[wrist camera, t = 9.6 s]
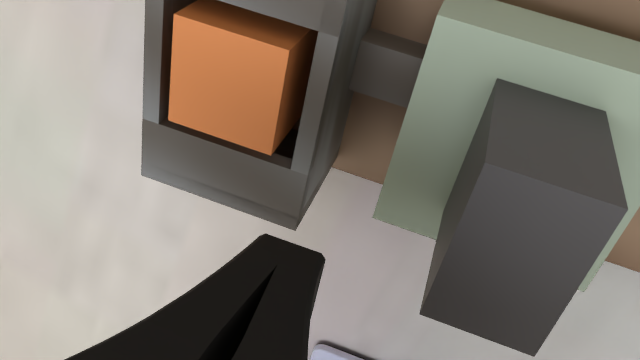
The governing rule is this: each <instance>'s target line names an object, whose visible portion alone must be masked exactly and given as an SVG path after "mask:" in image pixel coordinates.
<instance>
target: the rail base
mask: <svg viewBox="0 0 640 360" xmlns="http://www.w3.org/2000/svg"><path fill="white" fill-rule="evenodd" d="M195 1H197V0H145V34H144V78H143V121H142V165H141V175H142V176H145V177H148V178H151V179H153V180H156V181H159V182H162V183H164V184H167V185H170V186H173V187H175V188H178V189H181V190H184V191H187V192H189V193H192V194H195V195H198V196H200V197H203V198H206V199H209V200H212V201H214V202H217V203H220V204H223V205H225V206H228V207H231V208H234V209H236V210H239V211H242V212H245V213H248V214H250V215H253V216H256V217H259V218H261V219H264V220H267V221H270V222H272V223H275V224H278V225H281V226H284V227H286V228H289V229H292V230H295V231H296V229H297V227H298V225H299V223H300V222H301V220H302V218H303V216H304V215H305V213H306V211H307V209H308V208H309V206H310V204H311V202H312V201H313V199H314V197H315V195H316V194H317V192H318V190H319V188H320V186H321V185H322V183H323V181H324V179H325V178H326V176H327V174H328V172H329V171H330V169H331V167H333V168H336V169H339V170H342V171H345V172H348V173H350V174H353V175H356V176H359V177H362V178H365V179H368V180H371V181H374V182H377V183H380V184H383V183H384V180H385V177H386V174H387V171H388V168H389V164H390V161H391V158H392V155H393V152H394V149H395V146H396V142H397V139H398V136H399V133H400V130H401V127H402V124H403V121H404V117H405V114H406V111H407V108H408V105H409V102H410V99H411V95H412V92H413V89H414V86H415V83H416V80H417V77H418V73H419V70H420V67H421V64H422V61H423V58H424V55H425V52H426V48H427V45H428V42H429V39H430V36H431V33H432V30H433V26H434V23H435V20H436V17H437V14H438V12H439V10H440V8H441V6H442V4H443V2H444V0H219V1H222V2H225V3H228V4H232V5H235V6H238V7H241V8H245V9H248V10H251V11H254V12H258V13H261V14H264V15H267V16H270V17H274V18H277V19H280V20H283V21H287V22H290V23H293V24H296V25H300V26H303V27H306V28H309V29H313V30H316V31H319V32H318V36H317V41H316V46H315V51H314V56H313V61H312V66H311V71H310V76H309V81H308V86H307V91H306V96H305V101H304V106H303V111H302V115H301V117H300V118H299V119H298V121H297V122H296V123H295V125H294V126H293V127H292V129H291V130H290V131H289V133H288V134H287V135H286V137H285V138H284V139H283V140H282V142H281V143H280V144H279V146H278V147H277V148H276V150H275V151H274V152H273V154H272V155H271V156H270V155H267V154H265V153H262V152H259V151H256V150H253V149H250V148H247V147H244V146H241V145H238V144H236V143H233V142H230V141H227V140H224V139H221V138H218V137H215V136H212V135H209V134H206V133H204V132H201V131H198V130H195V129H192V128H189V127H186V126H183V125H180V124H177V123H174V122H172V121H169V120H168V114H169V95H170V76H171V56H172V37H173V18H174V13H176V12H178V11H180V10H181V9H183V8H185V7H187V6H188V5H190V4H192V3H194V2H195ZM496 1H500V2H503V3H507V4H510V5H514V6H517V7H521V8H524V9H528V10H531V11H535V12H538V13H541V14H545V15H548V16H552V17H555V18H559V19H562V20H566V21H569V22H573V23H576V24H580V25H583V26H586V27H590V28H593V29H597V30H600V31H604V32H607V33H611V34H614V35H618V36H621V37H625V38H628V39H631V40H635V41H638V42H640V0H496ZM605 261H608V262H611V263H614V264H617V265H620V266H622V267H625V268H628V269H631V270H634V271H637V272H640V207H639V208H638V210H637V211H636V213H635V214H634V216H633V218H632V219H631V221H630V222H629V224H628V225H627V227H626V228H625V230H624V231H623V233H622V234H621V236H620V238H619V239H618V241H617V242H616V244H615V245H614V247H613V248H612V250H611V251H610V253H609V254H608V256H607V258H606V259H605Z"/></svg>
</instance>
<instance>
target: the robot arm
mask: <svg viewBox="0 0 640 360" xmlns="http://www.w3.org/2000/svg"><path fill="white" fill-rule="evenodd" d="M324 264H325V258H324V256H323V255H322V253H319V252H316V251H313V250H310V249H308V248H305V247H302V246H299V245H296V244H293V243H291V242H288V241H285V240H282V239H279V238H276V237H274V236H271V235H268V234H263V235H261V236H259V237H258V238H257V239H256V240H255V241H253V242H252V243H251V244H250V245H249V246H248V247H246V248H245V249H244V250H243V251H242V252H240V253H239V254H238V255H237V256H235V257H234V258H233V259H232V260H230V261H229V262H228V263H226V264H225V265H224V266H223V267H221V268H220V269H219V270H217V271H216V272H215V273H213V274H212V275H210V276H209V277H208V278H206V279H205V280H203V281H202V282H201V283H199V284H198V285H196V286H195V287H194V288H192V289H191V290H189V291H188V292H186V293H185V294H183V295H182V296H180V297H179V298H177V299H176V300H174V301H172V302H171V303H169V304H168V305H166V306H165V307H163V308H161V309H160V310H158V311H157V312H155V313H154V314H152V315H150V316H149V317H147V318H145V319H143V320H142V321H140V322H138V323H137V324H135V325H133V326H131V327H129V328H128V329H126V330H124V331H122V332H120V333H118V334H116V335H114V336H113V337H111V338H109V339H107V340H105V341H103V342H101V343H99V344H97V345H95V346H92V347H90V348H88V349H86V350H84V351H82V352H80V353H78V354H76V355H74V356H71V357H69V358H67V359H65V360H307V356H308V339H309V327H310V319H311V315H312V311H313V307H314V303H315V299H316V295H317V291H318V287H319V283H320V279H321V275H322V272H323V268H324ZM310 360H364V359H361V358H358V357H356V356H353V355H351V354H348V353H346V352H343V351H340V350H338V349H335V348H333V347H330V346H327V345H324V344H318V345H316V346H315V347H314V349H313V352H312V355H311V358H310Z"/></svg>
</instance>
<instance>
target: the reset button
mask: <svg viewBox="0 0 640 360" xmlns="http://www.w3.org/2000/svg"><path fill="white" fill-rule="evenodd" d="M318 32H319V31H316V30H313V29H309V28H306V27H303V26H300V25H296V24H293V23H290V22H287V21H283V20H280V19H277V18H274V17H270V16H267V15H264V14H261V13H258V12H254V11H251V10H248V9H245V8H241V7H238V6H235V5H232V4H228V3H225V2H222V1H219V0H197V1H195V2H194V3H192V4H190V5H188V6H187V7H185V8H183V9H181V10H180V11H178V12H176V13H174V18H173V37H172V56H171V76H170V95H169V114H168V120H169V121H172V122H174V123H177V124H180V125H183V126H186V127H189V128H192V129H195V130H198V131H201V132H204V133H206V134H209V135H212V136H215V137H218V138H221V139H224V140H227V141H230V142H233V143H236V144H238V145H241V146H244V147H247V148H250V149H253V150H256V151H259V152H262V153H265V154H267V155H270V156H271V155H272V154H273V152H274V151H275V150H276V148H277V147H278V146H279V144H280V143H281V142H282V140H283V139H284V138H285V137H286V135H287V134H288V133H289V131H290V130H291V129H292V127H293V126H294V125H295V123H296V122H297V121H298V119H299V118H300V117H301V115H302V111H303V106H304V101H305V96H306V91H307V86H308V81H309V76H310V71H311V66H312V61H313V56H314V51H315V46H316V41H317V36H318Z"/></svg>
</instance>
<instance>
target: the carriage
mask: <svg viewBox="0 0 640 360" xmlns="http://www.w3.org/2000/svg"><path fill="white" fill-rule="evenodd" d="M639 207H640V42H638V41H635V40H631V39H628V38H625V37H621V36H618V35H614V34H611V33H607V32H604V31H600V30H597V29H593V28H590V27H586V26H583V25H580V24H576V23H573V22H569V21H566V20H562V19H559V18H555V17H552V16H548V15H545V14H541V13H538V12H535V11H531V10H528V9H524V8H521V7H517V6H514V5H510V4H507V3H503V2H500V1H496V0H444V2H443V4H442V6H441V8H440V10H439V12H438V14H437V17H436V20H435V23H434V26H433V30H432V33H431V36H430V39H429V42H428V45H427V48H426V52H425V55H424V58H423V61H422V64H421V67H420V70H419V73H418V77H417V80H416V83H415V86H414V89H413V92H412V95H411V99H410V102H409V105H408V108H407V111H406V114H405V117H404V121H403V124H402V127H401V130H400V133H399V136H398V139H397V142H396V146H395V149H394V152H393V155H392V158H391V161H390V164H389V168H388V171H387V174H386V177H385V180H384V183H383V186H382V190H381V193H380V196H379V199H378V202H377V205H376V208H375V212H374V215H373V218H375V219H378V220H381V221H383V222H386V223H389V224H392V225H395V226H398V227H400V228H403V229H406V230H409V231H412V232H415V233H418V234H420V235H423V236H426V237H429V238H432V239H435V240H436V245H435V249H434V253H433V258H432V262H431V266H430V271H429V275H428V279H427V284H426V288H425V292H424V297H423V301H422V305H421V310H420V315H423V316H426V317H428V318H431V319H434V320H437V321H439V322H442V323H445V324H447V325H450V326H453V327H455V328H458V329H461V330H464V331H466V332H469V333H472V334H474V335H477V336H480V337H482V338H485V339H488V340H491V341H493V342H496V343H499V344H501V345H504V346H507V347H510V348H512V349H515V350H518V351H520V352H523V353H526V354H528V355H531V356H534V357H535V355H536V353H537V352H538V350H539V349H540V347H541V346H542V344H543V342H544V341H545V339H546V338H547V336H548V335H549V333H550V331H551V330H552V328H553V327H554V325H555V324H556V322H557V320H558V319H559V317H560V316H561V314H562V313H563V311H564V310H565V308H566V306H567V305H568V303H569V302H570V300H571V299H572V297H573V295H574V294H575V292H576V291H577V290H580V291H583V292H584V291H585V290H586V288H587V287H588V285H589V284H590V282H591V281H592V279H593V278H594V276H595V274H596V273H597V271H598V270H599V268H600V267H601V265H602V264H603V262H604V261H605V259H606V258H607V256H608V254H609V253H610V251H611V250H612V248H613V247H614V245H615V244H616V242H617V241H618V239H619V238H620V236H621V234H622V233H623V231H624V230H625V228H626V227H627V225H628V224H629V222H630V221H631V219H632V218H633V216H634V214H635V213H636V211H637V210H638V208H639Z"/></svg>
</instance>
